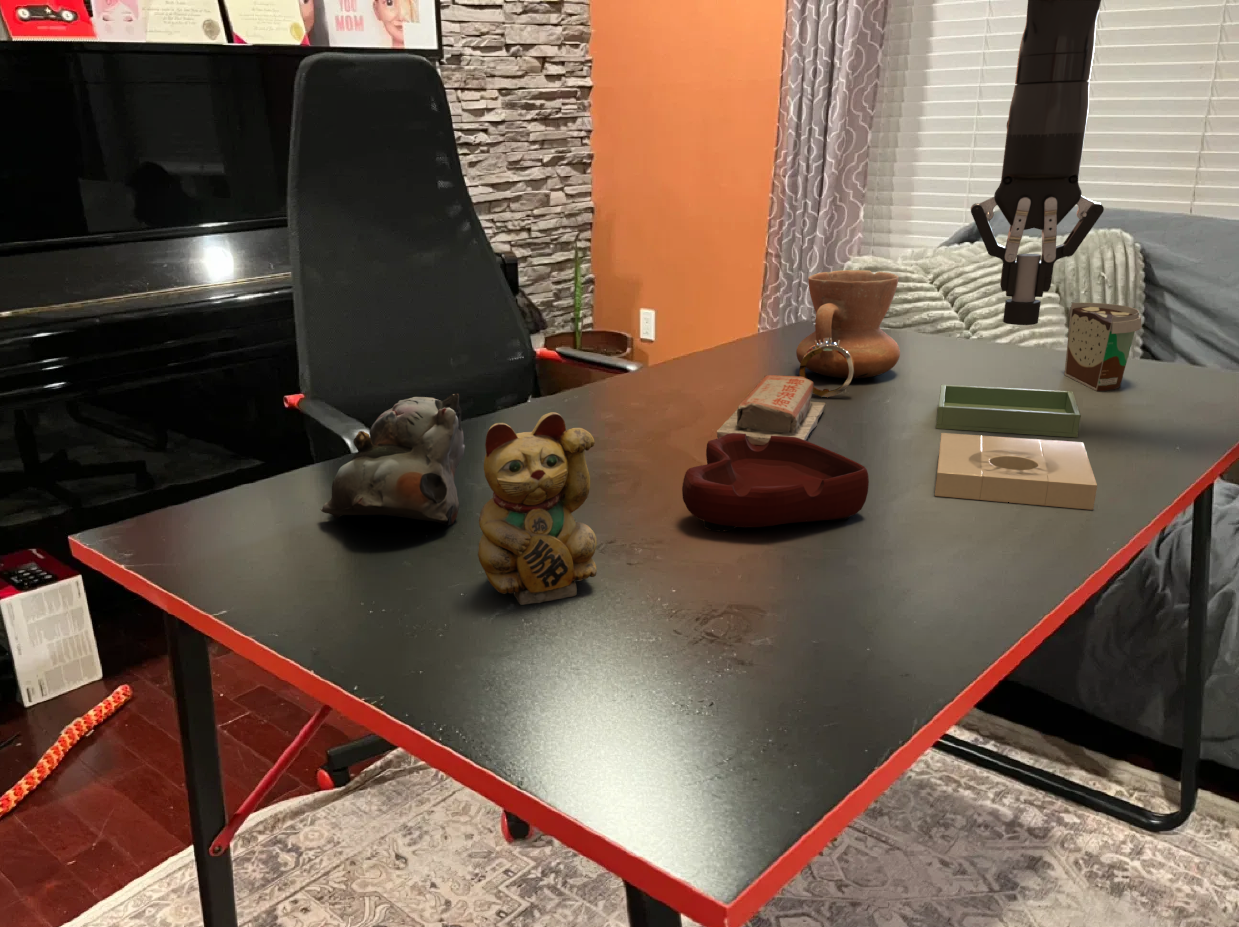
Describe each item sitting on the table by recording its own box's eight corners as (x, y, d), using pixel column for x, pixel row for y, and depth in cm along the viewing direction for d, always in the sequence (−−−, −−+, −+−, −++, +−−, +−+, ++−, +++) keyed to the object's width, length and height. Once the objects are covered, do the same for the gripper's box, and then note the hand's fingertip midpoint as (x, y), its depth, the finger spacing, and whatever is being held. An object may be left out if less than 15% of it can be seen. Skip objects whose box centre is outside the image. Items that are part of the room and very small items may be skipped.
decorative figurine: (498, 618, 78) (487, 432, 73) (464, 579, 85) (451, 406, 80) (610, 593, 82) (607, 413, 76) (568, 557, 89) (562, 390, 83)
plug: (1036, 319, 115) (1045, 252, 112) (1039, 325, 112) (1048, 257, 109) (1002, 318, 116) (1010, 252, 113) (1003, 324, 113) (1011, 256, 110)
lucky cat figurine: (306, 512, 101) (335, 378, 102) (417, 536, 107) (443, 409, 108) (352, 514, 88) (384, 360, 89) (475, 542, 94) (504, 396, 95)
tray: (1069, 412, 126) (1072, 391, 125) (1077, 437, 116) (1080, 414, 115) (938, 404, 131) (941, 384, 130) (936, 428, 121) (938, 406, 120)
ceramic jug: (829, 357, 159) (835, 264, 154) (918, 368, 149) (928, 270, 144) (768, 379, 147) (772, 280, 141) (861, 393, 137) (869, 287, 132)
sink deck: (1079, 464, 107) (1083, 442, 106) (1093, 510, 95) (1097, 485, 94) (938, 454, 112) (941, 432, 111) (934, 496, 100) (937, 472, 99)
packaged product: (749, 370, 132) (828, 374, 128) (748, 406, 133) (825, 411, 130) (716, 404, 116) (804, 410, 113) (715, 444, 118) (801, 452, 114)
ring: (796, 398, 136) (799, 339, 133) (801, 392, 139) (804, 334, 136) (849, 402, 134) (854, 342, 131) (853, 396, 136) (858, 337, 133)
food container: (1149, 392, 133) (1163, 316, 129) (1102, 393, 133) (1114, 317, 129) (1103, 371, 144) (1114, 300, 141) (1059, 372, 145) (1070, 301, 141)
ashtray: (858, 553, 87) (862, 499, 86) (673, 534, 93) (673, 483, 91) (872, 487, 103) (876, 439, 101) (713, 474, 108) (714, 429, 107)
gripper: (975, 132, 106) (957, 300, 112) (1125, 128, 101) (1097, 302, 107) (973, 131, 112) (957, 289, 118) (1114, 126, 108) (1089, 291, 114)
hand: (1024, 295), depth 113 cm, fingers closed on plug, 2 cm apart
